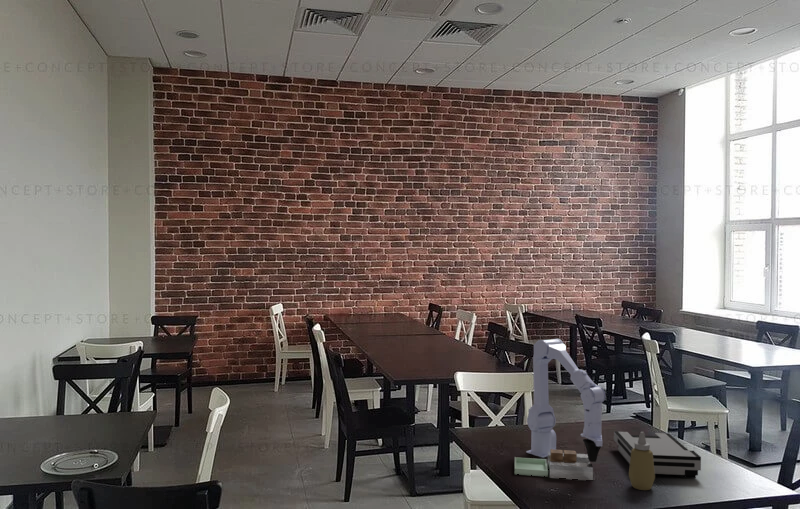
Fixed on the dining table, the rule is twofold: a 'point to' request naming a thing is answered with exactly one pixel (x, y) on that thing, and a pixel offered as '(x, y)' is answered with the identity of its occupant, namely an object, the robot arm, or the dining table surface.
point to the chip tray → (531, 466)
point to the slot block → (571, 468)
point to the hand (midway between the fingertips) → (592, 461)
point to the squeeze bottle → (641, 465)
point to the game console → (662, 454)
